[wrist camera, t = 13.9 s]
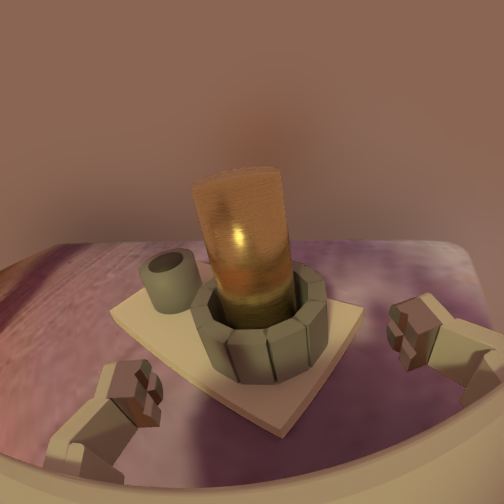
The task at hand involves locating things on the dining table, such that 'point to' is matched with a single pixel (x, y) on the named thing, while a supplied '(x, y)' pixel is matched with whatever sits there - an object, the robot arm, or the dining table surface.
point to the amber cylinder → (248, 245)
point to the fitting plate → (200, 374)
